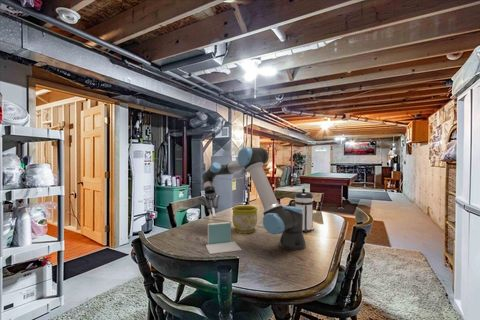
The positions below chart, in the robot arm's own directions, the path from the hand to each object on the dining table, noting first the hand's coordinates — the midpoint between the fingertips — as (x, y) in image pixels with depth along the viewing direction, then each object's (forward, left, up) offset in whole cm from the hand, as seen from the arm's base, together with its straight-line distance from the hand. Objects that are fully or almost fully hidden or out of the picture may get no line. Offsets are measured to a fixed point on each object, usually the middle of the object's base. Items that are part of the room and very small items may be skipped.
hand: (214, 217), depth 164 cm
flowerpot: (-11, -21, -13) cm, 27 cm away
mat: (-17, +14, -13) cm, 26 cm away
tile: (-10, +8, -13) cm, 18 cm away
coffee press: (-45, -44, -13) cm, 64 cm away
